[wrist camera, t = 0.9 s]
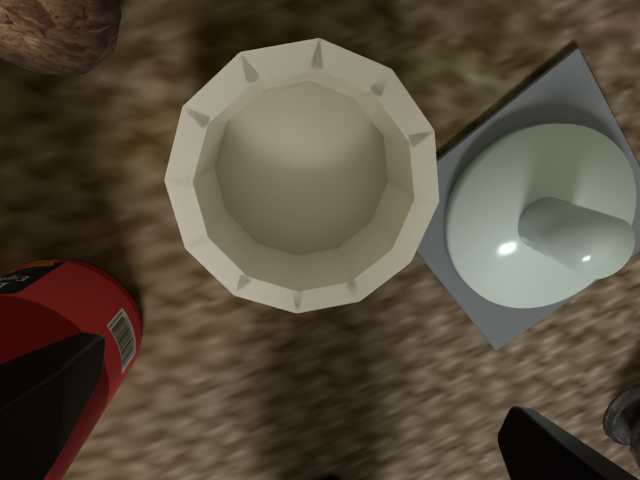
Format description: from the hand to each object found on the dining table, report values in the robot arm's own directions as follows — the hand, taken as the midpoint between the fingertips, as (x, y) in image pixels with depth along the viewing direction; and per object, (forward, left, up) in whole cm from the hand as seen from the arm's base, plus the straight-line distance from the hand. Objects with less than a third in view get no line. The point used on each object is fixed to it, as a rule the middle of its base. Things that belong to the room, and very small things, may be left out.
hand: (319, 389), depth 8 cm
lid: (-8, -10, -13) cm, 18 cm away
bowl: (+2, -2, -13) cm, 13 cm away
